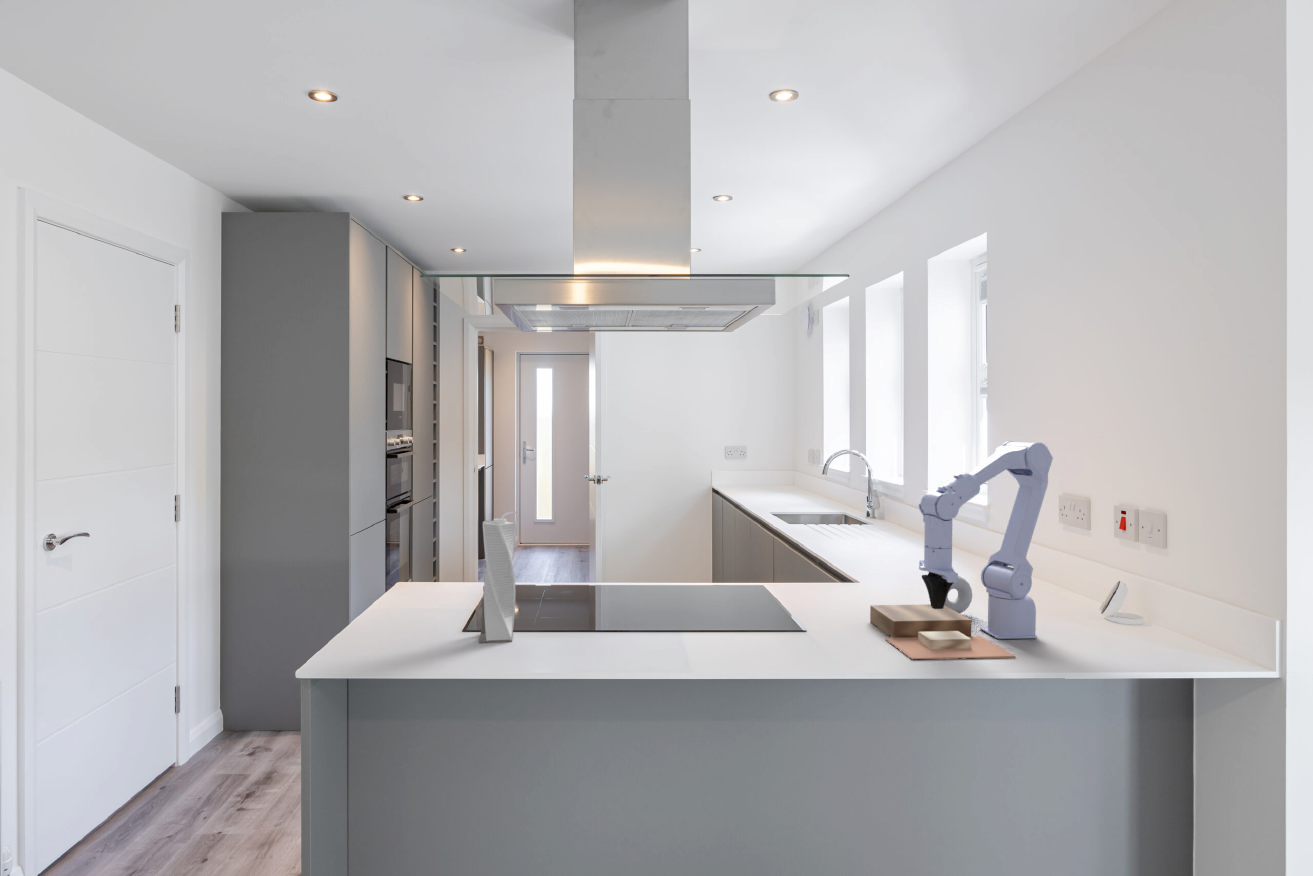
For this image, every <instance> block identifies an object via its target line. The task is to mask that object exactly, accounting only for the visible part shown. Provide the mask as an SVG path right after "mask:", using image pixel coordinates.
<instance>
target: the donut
mask: <svg viewBox="0 0 1313 876" xmlns="http://www.w3.org/2000/svg"><path fill="white" fill-rule="evenodd" d="M951 590H956V591H957V597H956V599H955V600H952V601H950V599H949V597H948V596H949V593H950V591H951ZM972 599H973V588H972V587H971V585H970V583H969V582H968V581H967V580H966V579H965V578H963V577H961V576H960V575H958V582H954V583H953V584H952V586H951V587H950V589H949V591H948V594H947V597H946V600H945V604H944V605H945V606H947V607H949V608H951V609H952V610H954V611H956V612H958V613H960V614H962V613H964V612H965V611H967V609H968V608H969V607H970V605H971V603H972Z"/></svg>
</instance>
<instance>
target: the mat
mask: <svg viewBox="0 0 1313 876" xmlns="http://www.w3.org/2000/svg"><path fill="white" fill-rule="evenodd" d="M967 637H969V638H971V648H967V649H929V648H928V647H926V646H925V645H923V644H922V643H921V642H919V641H918V637H904V638H891V637H884V640H885V641H886V640H887V641H886V642H888V643H889V642H890V643H891V644H892V646H893V645H894V646H895V647H896V648H895V647H894V646H893V647H894V648H895V649H897V648H898V649H899V650H901V651H902V652H903V653H905V654H906V655H907V656H909V658H908V659H910V658H911V659H912V660H911V659H910V660H911V661H914V660H913V659H939V660H959V659H958V658H986V659H1015V658H1016V655H1015V654H1012V653H1011V652H1010V651H1007V650H1006V649H1004V648H1002V647H1000V646H999V645H997V644H995V643H993V642H992V641H991V640H988V639H987V638H985V637H984V636H981V635H976V636H975V635H971V636H967ZM890 643H889V644H890ZM891 644H890V645H891ZM898 649H897V650H898ZM899 650H898V651H899ZM901 651H900V652H901ZM902 652H901V653H902ZM903 653H902V654H903ZM906 655H905V656H906ZM907 656H906V657H907ZM947 658H948V659H947Z"/></svg>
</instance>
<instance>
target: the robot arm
mask: <svg viewBox="0 0 1313 876" xmlns="http://www.w3.org/2000/svg"><path fill="white" fill-rule="evenodd" d="M1053 458H1054V457H1053V455H1052V454H1051V451H1050V450H1049V448H1048V446H1047V445H1046V444H1044V443H1042V442H1038V441H1037V442H1020V441H1011V440H1009V441H1005V442H1004V443H1002V445H1000V446H997V447H996V448H995V452H994V453H993V454H992V455H990V456H989V457H988V458H986V459H985V461H983V462H982V463H981V464H979V465H978V466H977V467H976V468H974V469H973V470H972V471H971V472H970V473H968V472H957V473H955V474H953V478H952V479H950V480H949V481H948V482H947V483H945V484H944V485H940V486H938V488H937V490H936V491H928V492H926V493H925V494H924V495H923V496H922V498H921V501H920V503H918V510H919V513H920V514H921V515H922V517H923V518H922V521H923V523H924V539H923V540H924V542H923V543H924V544H923V545H924V550H923V551H924V557H923V560H920V559H919V565H918V566H919V567H918V569H919V570H920V571H923V572H924V571H925V572H928V573H927V574H922V575H921V578H922V580H923V582H924V584H925V587H926V590H927V592H928V593H927V594H928V598H929V601H930V603H929V604H931V607H932V608H934V609H943V607H944V604H945V600H946V597H947V594H948V595H949V593H948V591H949V589H950V587H951V586H952V584H953V583H954V582H958V576H959V573H958V572H956V570H955V569H954V567H953V518H954V519H955V518H956V517H957V515H958V514H959V512H960V508H962V507H963V506H964V505H965V504H966V503H967V502H969V501H970V500H972V499H973V498H974V497H976V496H977V495H978V494H979V493H980V491H981V486H982V485H983V484H985V483H986V482H988V481H990V480H992V479H993V478H995V477H997V476H998V475H1000V474H1001V473H1003V472H1004V471H1007V472H1009V474H1010V475H1011V476H1012V477H1013V478H1014V479H1015V480H1016V481H1017V483H1018V485H1019V487H1018V491H1017V494H1016V497H1015V500H1014V503H1013V506H1012V510H1011V513H1010V516H1009V519H1008V524H1007V527H1006V529H1005V533H1004V535H1003V539H1002V543H1001V546H1000V549H999V550H998V551H996V552H995V553H993V554H991V555H990V556H989V558H988V562H987V563H986V565H984V567H982V570H981V573H980V574H981V575H980V579H981V583H982V585H983V586H984V587H985V589H986V593H987V594H988V599H987V600H988V602H987V603H988V604H987V605H988V607H987V626H980V627H979V630H981V631H982V630H983V632H984V631H985V633H986V634H988V635H990V636H991V635H992V637H993V636H994V638H995V639H999V640H1006V639H1007V640H1009V639H1018V640H1019V639H1038V635H1036V630H1037V626H1036V625H1037V624H1036V623H1037V617H1036V616H1037V607H1036V604H1035V602H1034V601H1035V600H1033V598H1032V597H1031V596H1030V595H1028V594H1029V592H1030V591H1031V589H1032V585H1033V580H1032V574H1033V571H1034V568H1033V566H1032V565H1031V563H1030V562H1029V561H1028V559H1027V555H1028V551H1029V548H1030V545H1031V542H1032V541H1031V540H1032V538H1033V534H1034V531H1035V528H1036V526H1037V522H1038V518H1039V515H1040V512H1041V509H1042V506H1043V502H1044V499H1045V495H1046V493H1047V492H1046V491H1047V488H1048V484H1049V472H1050V468H1051V466H1052V462H1053ZM949 592H950V591H949Z"/></svg>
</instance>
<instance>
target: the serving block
mask: <svg viewBox="0 0 1313 876" xmlns="http://www.w3.org/2000/svg"><path fill="white" fill-rule="evenodd" d="M869 611H870V612H869V613H870V614H869V615H870V617H869V619H870V620H869V621H870V623H871V624H872V625H874V626H875V627H876V626H877V627H876V628H878V629H879V628H880V629H881V630H880V629H879V630H880V631H882V632H883V631H884V632H885V633H884V632H883V633H884V634H886V633H887V634H888V635H887V634H886V635H887V636H889V635H890V636H891V637H892V638H904V637H918V632H927V631H959V632H960V633H962V634H964V635H965V636H972V625H973V624H972V622H973V621H972V620H973V619H971V618H969V617H968V616H966V615H964V614H962V613H958V612H956V611H954V610H952V609H951V608H949V607H947V606H945V605H944V607H943V609H934V608H932V607H931V603H929V604H883V605H881V604H875V605H874V604H872V605H871V604H870V610H869ZM890 636H889V637H890ZM891 637H890V638H891Z"/></svg>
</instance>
